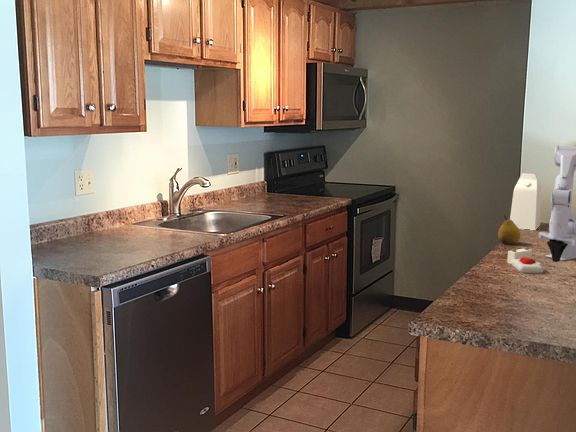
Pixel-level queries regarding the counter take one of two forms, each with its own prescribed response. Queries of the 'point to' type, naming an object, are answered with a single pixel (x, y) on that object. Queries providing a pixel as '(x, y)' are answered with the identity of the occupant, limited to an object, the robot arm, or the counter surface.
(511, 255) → the ledger strip
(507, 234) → the fruit
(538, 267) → the icon
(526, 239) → the counter surface
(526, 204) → the milk
